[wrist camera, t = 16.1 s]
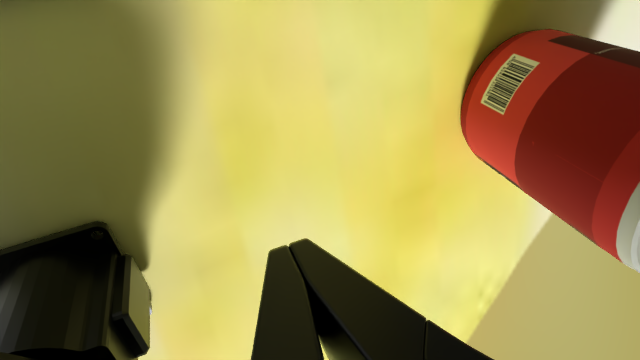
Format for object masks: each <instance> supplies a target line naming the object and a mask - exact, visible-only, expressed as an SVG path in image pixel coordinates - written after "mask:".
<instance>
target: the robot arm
mask: <svg viewBox="0 0 640 360" xmlns="http://www.w3.org/2000/svg"><path fill="white" fill-rule="evenodd" d="M94 231H101V232H102V234H100V235H97V234H94V233H93V232H94ZM151 312H152V305H151V302H150V289H149V287H148V285H147V283H146V281H145V279H144V277H143V276H142V274H141V272H140V270H139V268H138V266H137V264H136V263H135V261H134V259H133V257H132V256H130V255H128V254H124V253H123V251H122V249H121V247H120V246H119V244H118V242H117V240H116V238H115V236H114V235H113V233H112V231H111V229H110V227H109V226H108V225H107V224H106V223H104V222H93V223H89V224H86V225H83V226H79V227H76V228H73V229H69V230H66V231H63V232H59V233H56V234H53V235H49V236H46V237H43V238H39V239H36V240H33V241H29V242H26V243H23V244H19V245H16V246H13V247H9V248H6V249H3V250H0V360H138V357H140V356H142V355H145V354H147V352H148V350H149V348H150V315H151ZM320 342H321V344H322V346H323V348H324V351H325V353H326V355H327V357H328V358H329V360H494V359H492V358H490V357H488V356H486V355H484V354H483V353H481V352H479V351H477V350H476V349H474V348H472V347H470V346H469V345H467V344H466V343H464V342H462V341H461V340H459V339H458V338H456V337H454V336H453V335H451V334H450V333H448V332H446V331H445V330H443V329H442V328H440V327H439V326H437V325H436V324H435V323H433V322H432V321H430V320H427V321H426V318H425V317H424V316H422V315H421V314H419V313H418V312H416V311H415V310H413V309H412V308H410V307H409V306H407V305H406V304H404V303H403V302H401V301H400V300H398V299H397V298H395V297H394V296H392V295H391V294H390V293H388V292H387V291H385V290H384V289H382V288H381V287H379V286H378V285H376V284H375V283H373V282H372V281H370V280H369V279H367V278H366V277H364V276H363V275H361V274H360V273H358V272H357V271H355V270H354V269H352V268H351V267H349V266H348V265H346V264H345V263H343V262H342V261H340V260H339V259H337V258H336V257H334V256H333V255H331V254H330V253H328V252H327V251H325V250H324V249H322V248H321V247H319V246H318V245H316V244H315V243H313V242H312V241H310V240H309V239H306V238H305V239H301V240H298V241H295V242H292V243H290V244H289V247H288V246H287V245H284V246H281V247H278V248H275V249H272V250H270V251H269V253H268V259H267V265H266V271H265V277H264V283H263V289H262V295H261V301H260V307H259V314H258V320H257V326H256V332H255V338H254V344H253V350H252V356H251V360H324V357H323V353H322V348H321V344H320Z"/></svg>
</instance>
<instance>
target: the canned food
mask: <svg viewBox="0 0 640 360" xmlns="http://www.w3.org/2000/svg"><path fill="white" fill-rule="evenodd" d="M461 126H462V132H463V135H464V137H465V140H466V142H467V144H468V145H469V147H470V149H471V150H472V152H473V153H474V154H475V155H476V156H477V158H479V159H480V160H481V161H483V162H484V163H485V164H487V165H488V166H490V167H491V168H492V169H494V170H495V171H496V172H498V173H499V174H501V175H502V176H503V177H505V178H506V179H507V180H509V181H510V182H511V183H513V184H514V185H516V186H517V187H518V188H520V189H521V190H522V191H524V192H525V193H526V194H528V195H529V196H531V197H532V198H533V199H535V200H536V201H537V202H539V203H540V204H542V205H543V206H544V207H546V208H547V209H548V210H550V211H551V212H552V213H554V214H555V215H557V216H558V217H559V218H561V219H562V220H563V221H565V222H566V223H568V224H569V225H570V226H572V227H573V228H575V229H576V230H577V231H578V232H580V233H581V234H583V235H584V236H585V237H587V238H588V239H589V240H591V241H592V242H594V243H595V244H596V245H598V246H599V247H600V248H602V249H604V250H605V251H607V252H608V253H610V254H611V255H612V256H614V257H615V258H616V259H618V260H619V261H621V262H622V263H624V264H625V265H627V266H628V267H630V268H632V269H635V270H636V271H638V272H639V273H640V52H638V51H635V50H631V49H627V48H623V47H619V46H615V45H612V44H608V43H604V42H600V41H596V40H592V39H589V38H585V37H581V36H577V35H573V34H570V33H566V32H562V31H557V30H552V29H546V30H536V31H528V32H524V33H521V34H518V35H515V36H513V37H512V38H510V39H508V40H506V41H505V42H503V43H502V44H501V45H499V46H498V47H497V48H496V49H494V50H493V51H492V52H491V53H490V54H489V56H488V57H487V58H486V59H485V60H484V61H483V62H482V64H481V65H480V67H479V68H478V69H477V71H476V72H475V74H474V76H473V78H472V80H471V81H470V83H469V85H468V88H467V91H466V93H465V96H464V99H463V104H462V110H461Z"/></svg>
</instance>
